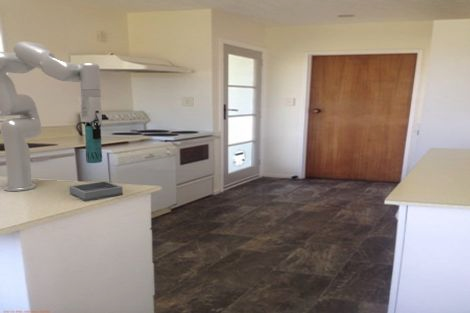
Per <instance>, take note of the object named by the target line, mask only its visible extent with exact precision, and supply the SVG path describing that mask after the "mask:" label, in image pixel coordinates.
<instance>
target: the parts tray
mask: <svg viewBox="0 0 470 313" xmlns="http://www.w3.org/2000/svg"><path fill="white" fill-rule="evenodd" d="M69 195H70V196H72V197H75V198H77V199H79V200H81V201H83V202H89V201H90V202H91V201H96V200H102V199H107V198H108V199H109V198H112V197H113V198H114V197H118V196H123V186H121V185H118V184H115V183H112V182H109V181H107V180H103V181H99V182H92V183H84V184H83V183H82V184H76V185H70V186H69Z"/></svg>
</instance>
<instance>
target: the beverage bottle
mask: <svg viewBox="0 0 470 313" xmlns="http://www.w3.org/2000/svg"><path fill="white" fill-rule="evenodd" d="M94 121H97V120H94ZM87 123H92V122H87ZM92 129H93V125H92V126H87V127H86V128H85V127H84V133H85V134H84V136H85V161H86V163H87V164H98V163H103V152H102V150H103V149H102V138H101V139H93V130H92Z"/></svg>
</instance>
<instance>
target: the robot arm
mask: <svg viewBox="0 0 470 313" xmlns="http://www.w3.org/2000/svg"><path fill="white" fill-rule="evenodd" d="M12 51H13V52H6V51H0V114H1V115H3V116H8V117H13V116H19V117H13V118H7V119H5V120H4V121H3V122H2V123H1V125H0V134H1V137H2V141H3V145H4V146H3V147H4V154H5V155H4V156H5V164H6V165H5V166H6V177H7V185H5V186H4V187H3V188H4V191H6V192H20V191H28V190H32V189H34V188H36V187H37V184H36V183H33V180H32V166H31V154H30V147H29V144H28V142H27V141H26V140H27V139H33V138H37V137H39V136H40V135H41V133H42V122H41V120H40V115H39V112H38V108H37V106H36V103H35V101H34V99H33V98H32V97H31V96H30V95H27V94H22V93H21V94H18V92H17V90H16V85H15V83H14V81H13V80H12V79H11V77H10V76H9V75H8V74H7V73H10V74H11V73H12V74H27V73H29V72H31V71H33V70H35V69H37V68H38V69H39V70H41V72H43V73H44V74H45V75H47V76H49V77H50V78H53V79H55V80H57V81H61V82H67V83H68V82H69V83H80V96H81V109H80V110H81V111H80V112H81V115H80V116H81V117H80V118H81V121H82V122H83V123H84V129H85V128H86V127H87V126H93V129H92V130H93V139H101V140H102V132H101V130H102V122H103V119H102V118H103V116H102V115H103V113H102V112H103V111H102V104H101V98H102V97H101V96H102V94H101V89H102V88H101V72H100V71H101V70H100V65H99V64H97V63H94V62H83V63H75V62H66V61H61V60H59V59H57V58H56V56H55V55H54V53H53V51H50V50H49V49H48V48H47V47H46V46H45V45H43V44H42V43H37V42H32V41H25V40H23V41H18V42H16V43H15V44H14V46H13V50H12ZM94 120H97V121H94ZM87 122H92V123H87ZM25 139H26V140H25Z"/></svg>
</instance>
